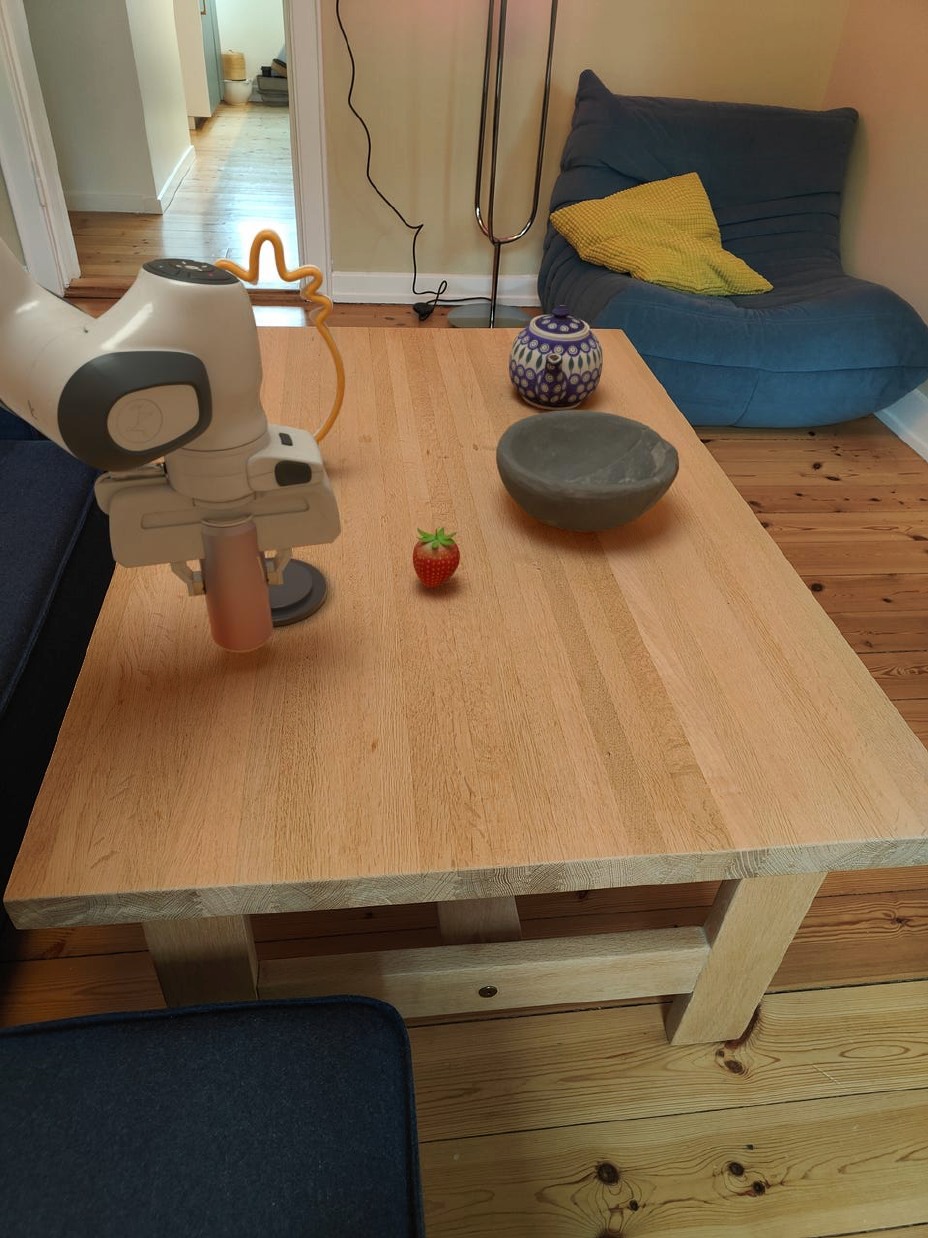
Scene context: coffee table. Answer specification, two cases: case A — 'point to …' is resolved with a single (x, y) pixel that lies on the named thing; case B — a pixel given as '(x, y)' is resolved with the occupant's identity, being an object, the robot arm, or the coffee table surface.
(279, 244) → the lamp
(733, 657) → the coffee table surface
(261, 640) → the beverage can
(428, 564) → the fruit
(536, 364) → the teapot
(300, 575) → the saucer
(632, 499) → the bowl
